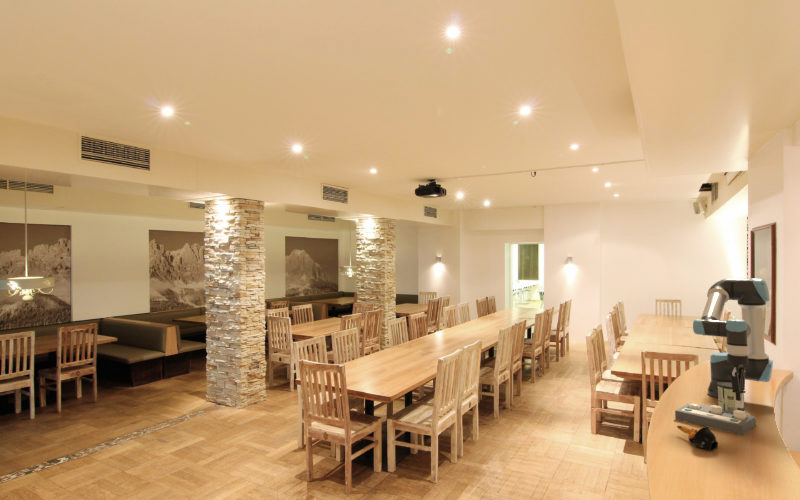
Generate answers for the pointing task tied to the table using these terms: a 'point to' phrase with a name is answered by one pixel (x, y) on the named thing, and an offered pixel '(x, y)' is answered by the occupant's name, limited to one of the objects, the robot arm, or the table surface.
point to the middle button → (716, 409)
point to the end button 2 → (740, 414)
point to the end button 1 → (694, 406)
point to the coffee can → (727, 397)
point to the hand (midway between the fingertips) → (739, 407)
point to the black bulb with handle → (701, 437)
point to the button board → (715, 419)
